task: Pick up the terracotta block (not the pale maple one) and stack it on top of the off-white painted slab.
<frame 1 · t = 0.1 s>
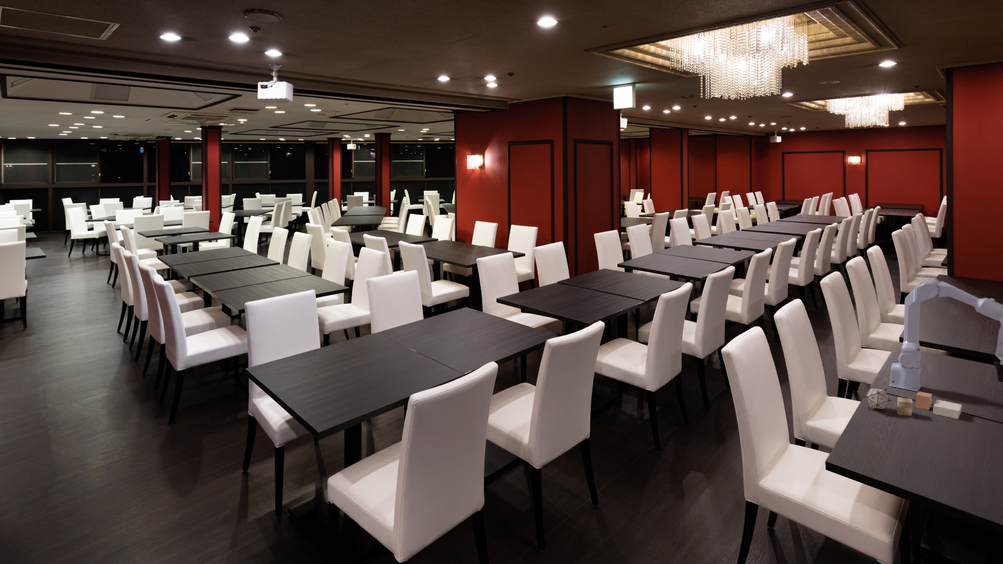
maple block: (903, 413, 199), on the table
terracotta block: (922, 407, 203), on the table
slab: (946, 413, 198), on the table
game die: (876, 409, 204), on the table
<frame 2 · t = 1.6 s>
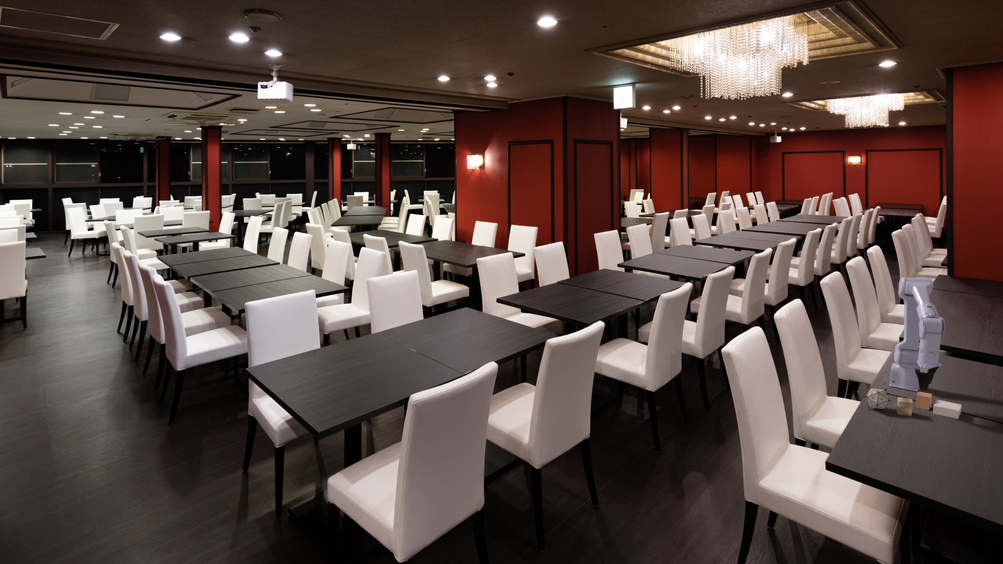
hand: (925, 386, 202), 8 cm above the table, fingers open, 7 cm apart
nothing on the table moved.
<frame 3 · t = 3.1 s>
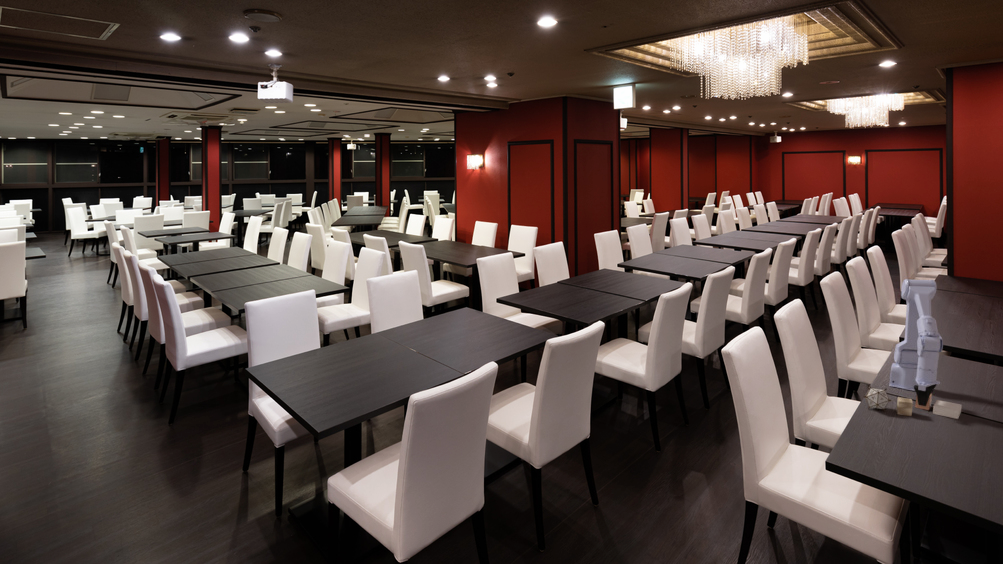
hand: (923, 403, 203), 1 cm above the table, fingers closed on terracotta block, 4 cm apart
terracotta block: (923, 407, 203), on the table, touching gripper
everything else where it was.
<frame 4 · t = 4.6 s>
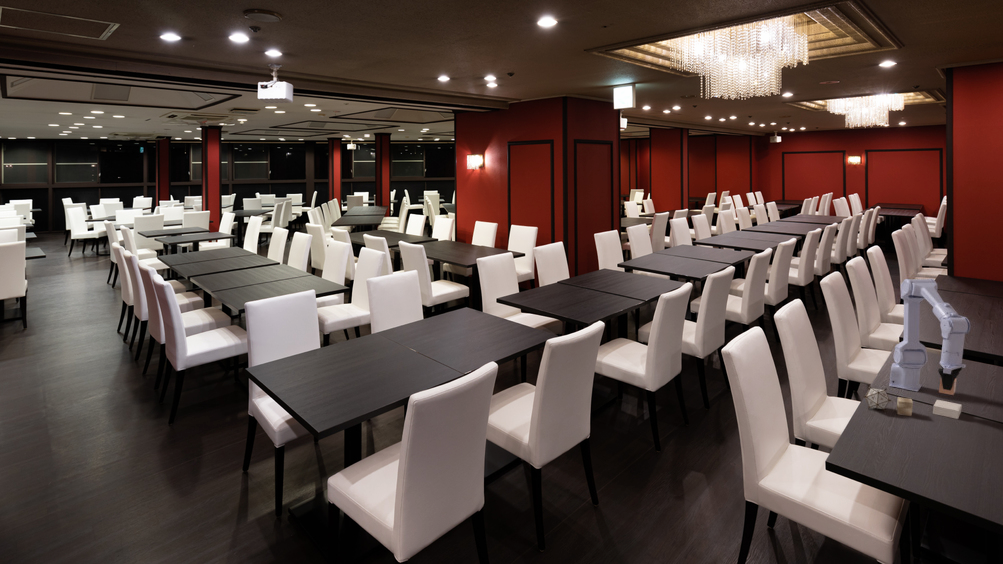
hand: (948, 387, 196), 9 cm above the table, fingers closed on terracotta block, 4 cm apart
terracotta block: (946, 392, 197), point 8 cm above the table, touching gripper
everything else where it was.
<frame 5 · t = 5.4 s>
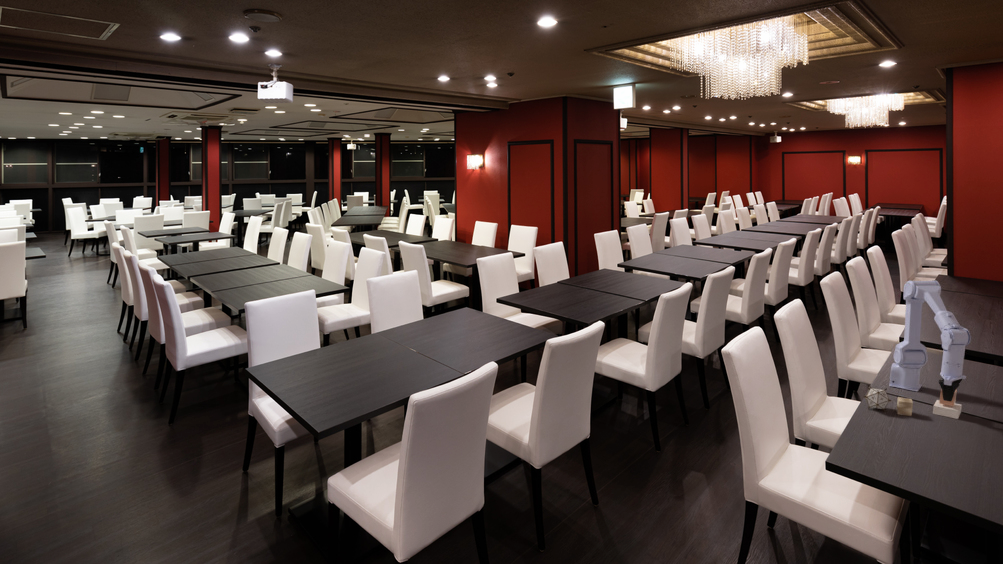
hand: (948, 398, 197), 5 cm above the table, fingers closed on terracotta block, 4 cm apart
terracotta block: (947, 403, 197), point 4 cm above the table, touching gripper
everything else where it was.
when the fingers open (5 cm above the table, at t = 6.2 s): terracotta block stays where it is, resting on slab.
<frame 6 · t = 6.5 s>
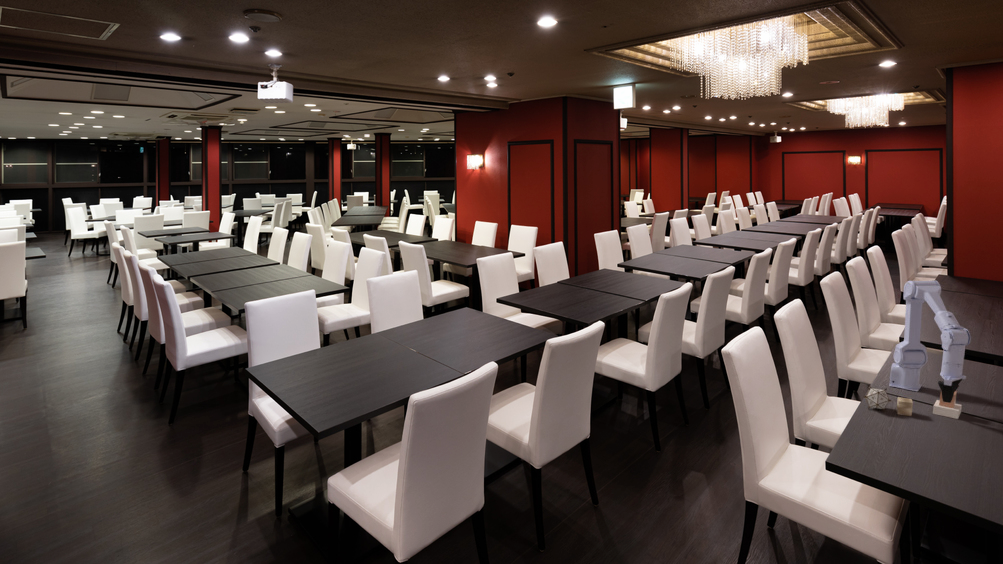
hand: (948, 398, 197), 5 cm above the table, fingers open, 7 cm apart
terracotta block: (947, 405, 197), point 3 cm above the table, touching slab
everything else where it was.
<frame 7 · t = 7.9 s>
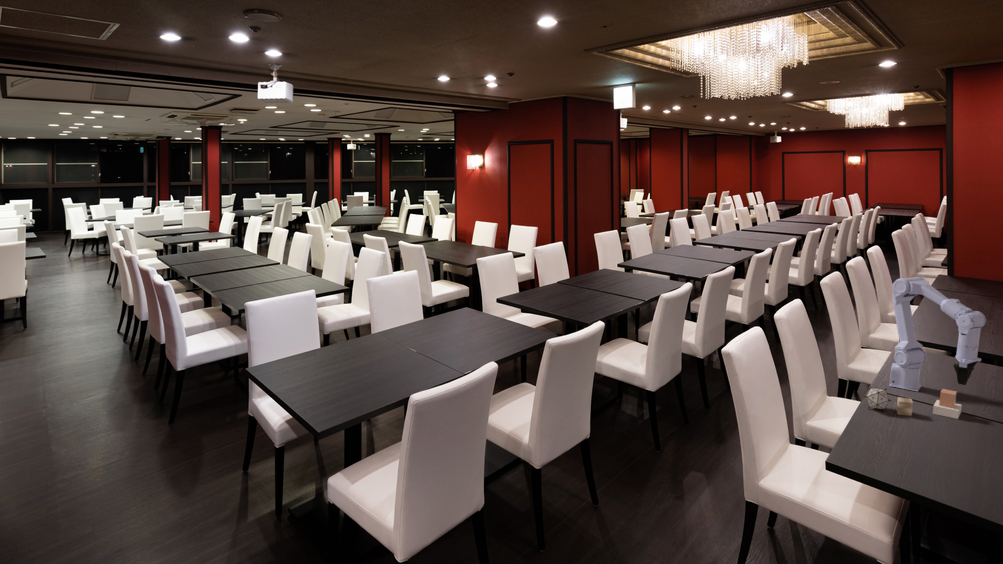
hand: (963, 381, 200), 10 cm above the table, fingers open, 7 cm apart
nothing on the table moved.
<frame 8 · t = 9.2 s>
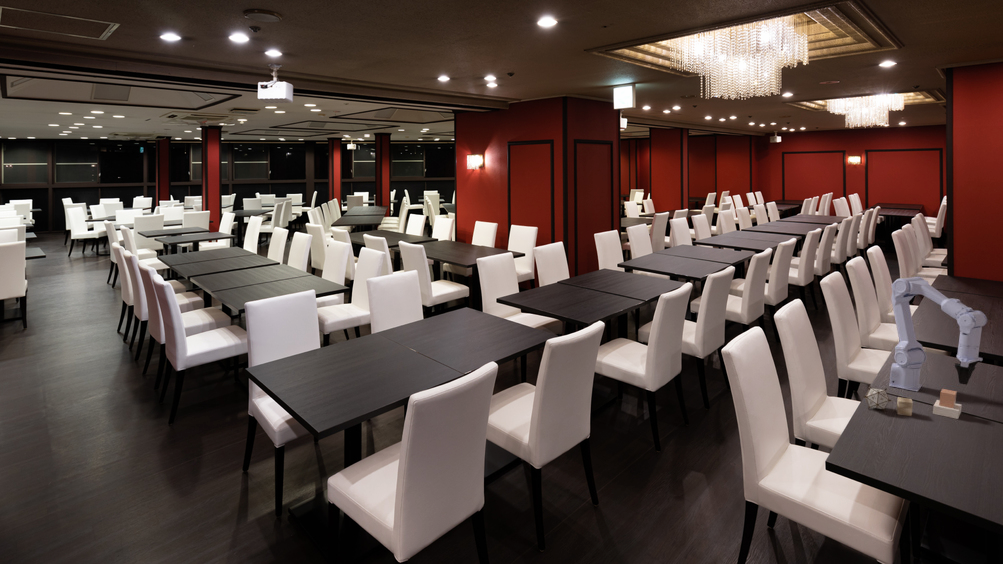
hand: (964, 380, 201), 10 cm above the table, fingers open, 7 cm apart
nothing on the table moved.
at the end: terracotta block 0.2 cm off-centre on the slab, point 3.0 cm above the slab's base; terracotta block tilted 0°; maple block moved 0.1 cm from its start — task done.
